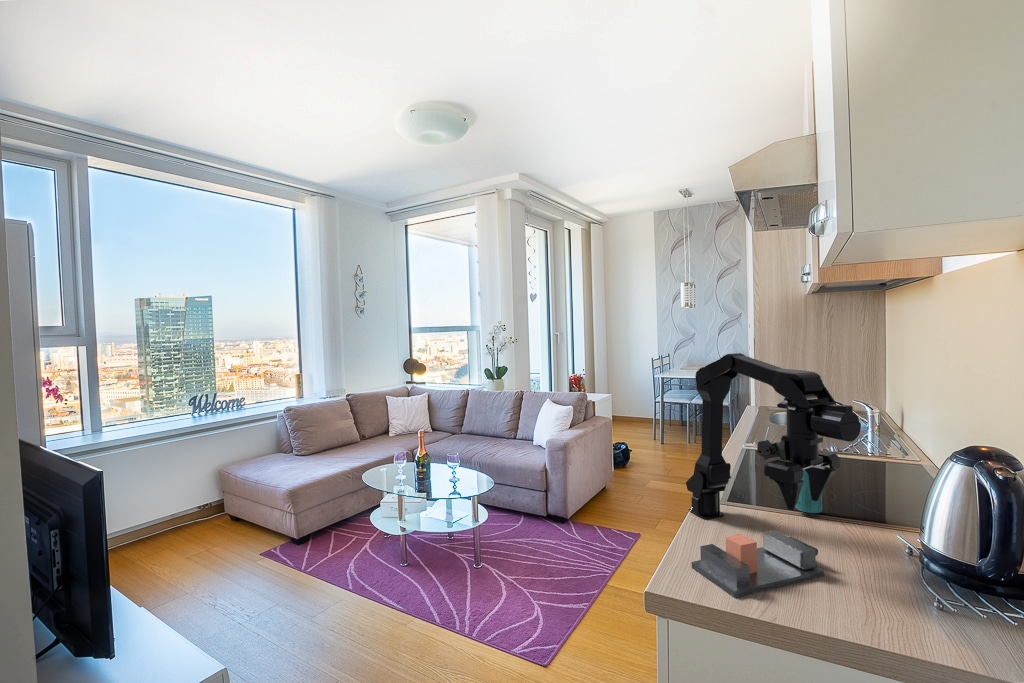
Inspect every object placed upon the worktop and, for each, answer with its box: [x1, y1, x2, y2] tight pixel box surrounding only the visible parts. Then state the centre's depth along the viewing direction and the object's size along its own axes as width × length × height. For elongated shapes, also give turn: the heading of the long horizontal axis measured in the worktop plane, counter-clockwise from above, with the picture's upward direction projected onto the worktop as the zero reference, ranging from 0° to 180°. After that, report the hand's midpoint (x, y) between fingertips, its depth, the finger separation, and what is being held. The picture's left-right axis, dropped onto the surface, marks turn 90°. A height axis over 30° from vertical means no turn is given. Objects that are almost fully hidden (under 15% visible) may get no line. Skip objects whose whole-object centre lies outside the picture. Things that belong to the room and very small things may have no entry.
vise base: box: [690, 543, 825, 599], centre depth 97 cm, size 22×12×5 cm, turn 108°
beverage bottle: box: [795, 469, 824, 514], centre depth 126 cm, size 6×7×20 cm
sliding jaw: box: [762, 529, 819, 570], centre depth 100 cm, size 6×10×4 cm, turn 18°
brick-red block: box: [725, 534, 758, 574], centre depth 96 cm, size 4×4×6 cm
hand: (803, 505), depth 101 cm, fingers open, 9 cm apart
